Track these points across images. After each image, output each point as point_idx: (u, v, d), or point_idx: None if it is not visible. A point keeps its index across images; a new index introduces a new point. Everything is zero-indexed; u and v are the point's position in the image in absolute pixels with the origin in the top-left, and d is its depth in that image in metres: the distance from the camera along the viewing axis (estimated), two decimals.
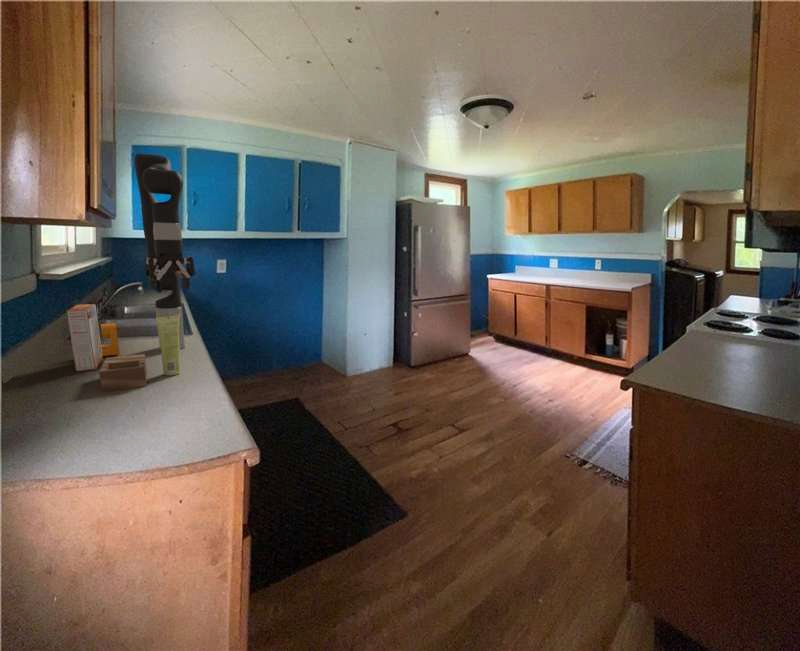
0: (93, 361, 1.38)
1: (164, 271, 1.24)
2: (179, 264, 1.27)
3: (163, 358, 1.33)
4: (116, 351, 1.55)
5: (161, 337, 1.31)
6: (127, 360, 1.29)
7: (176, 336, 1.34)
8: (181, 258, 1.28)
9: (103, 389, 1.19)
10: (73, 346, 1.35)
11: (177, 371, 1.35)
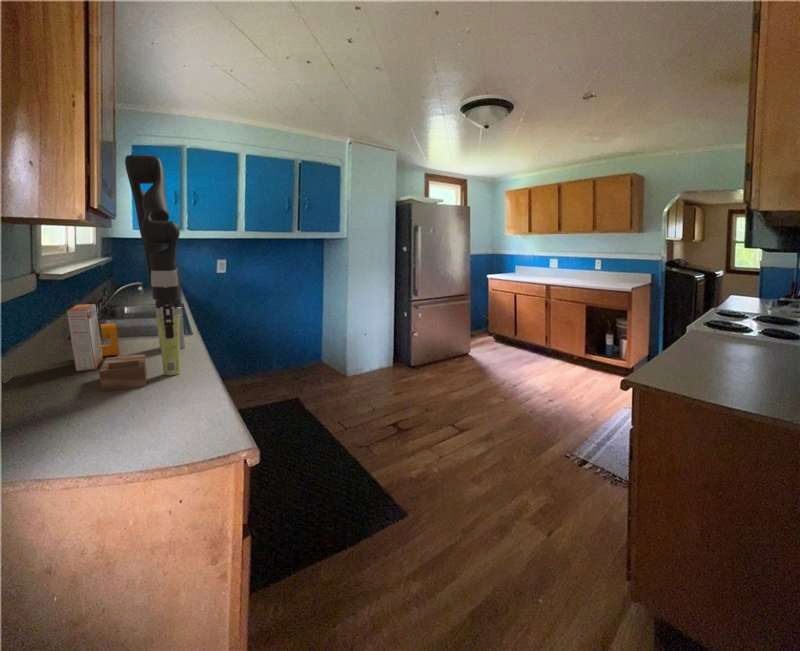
0: (93, 361, 1.38)
1: None
2: None
3: (163, 358, 1.33)
4: (116, 351, 1.55)
5: (161, 337, 1.31)
6: (127, 360, 1.29)
7: (176, 336, 1.34)
8: None
9: (103, 389, 1.19)
10: (73, 346, 1.35)
11: (177, 371, 1.35)
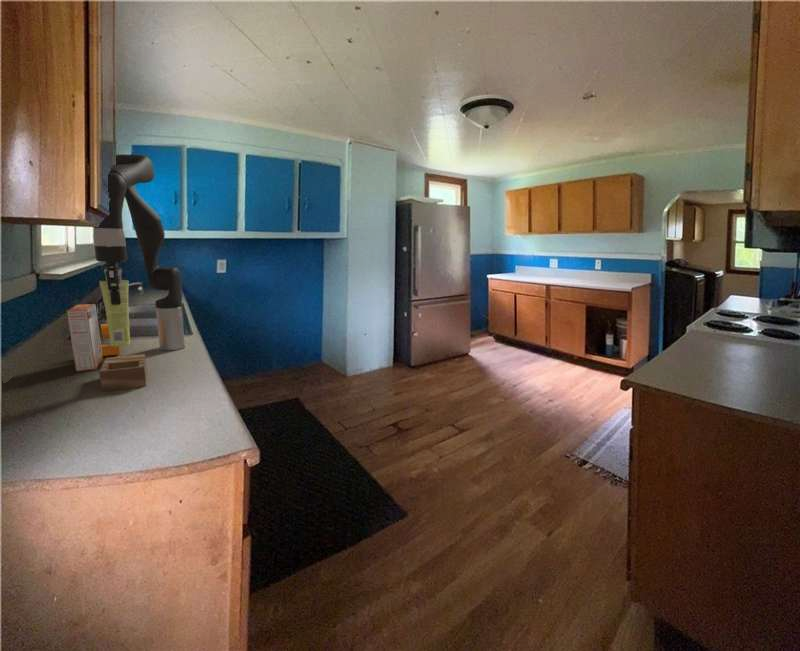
0: (93, 361, 1.38)
1: (120, 280, 1.19)
2: (121, 272, 1.22)
3: (109, 327, 1.20)
4: (116, 351, 1.55)
5: (106, 303, 1.18)
6: (127, 360, 1.29)
7: (124, 303, 1.21)
8: None
9: (103, 389, 1.19)
10: (73, 346, 1.35)
11: (126, 341, 1.22)
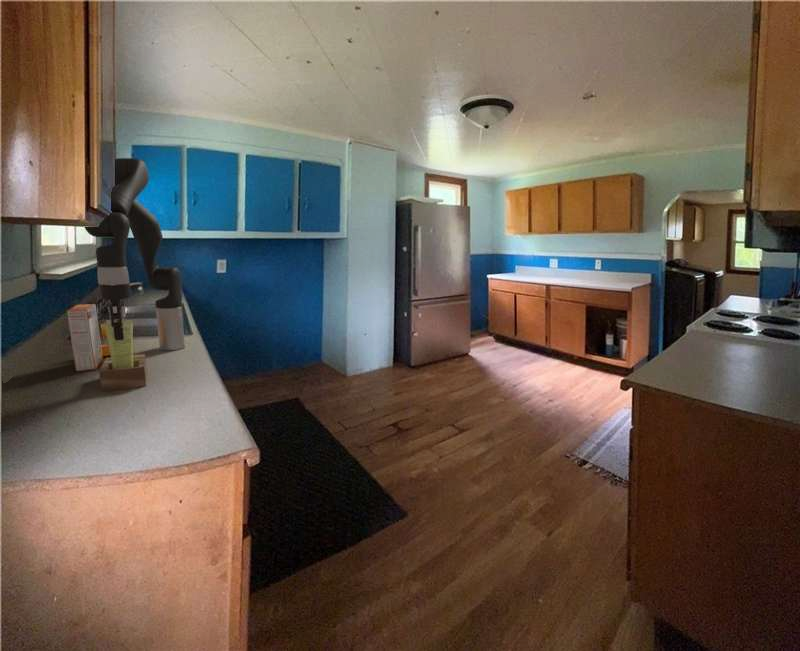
0: (93, 361, 1.38)
1: (124, 317, 1.20)
2: None
3: (113, 367, 1.22)
4: None
5: (110, 344, 1.21)
6: None
7: (128, 343, 1.24)
8: (121, 301, 1.24)
9: (103, 389, 1.19)
10: (73, 346, 1.35)
11: None
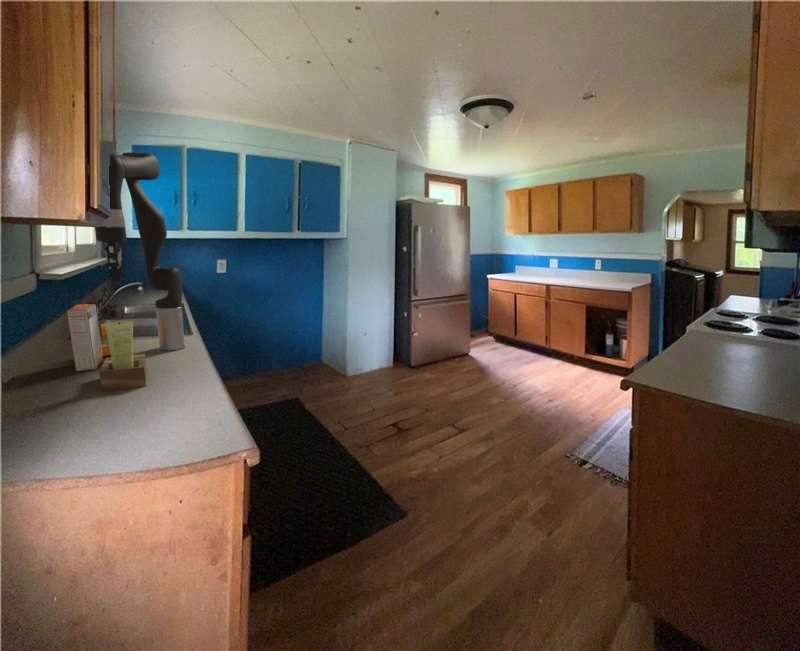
0: (93, 361, 1.38)
1: (120, 259, 1.22)
2: (121, 252, 1.25)
3: (113, 367, 1.22)
4: None
5: (110, 344, 1.21)
6: None
7: (128, 343, 1.24)
8: (117, 245, 1.26)
9: (103, 389, 1.19)
10: (73, 346, 1.35)
11: None
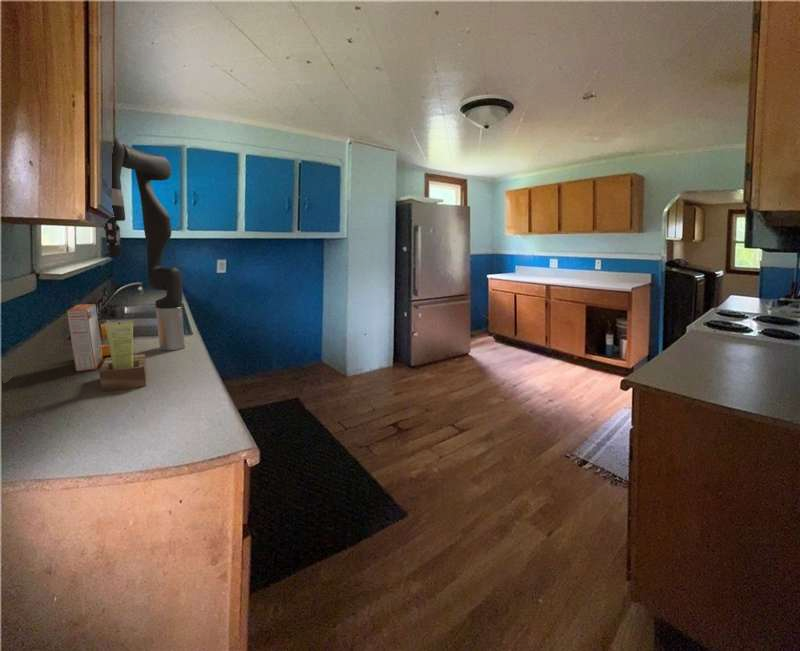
0: (93, 361, 1.38)
1: (118, 237, 1.27)
2: None
3: (113, 367, 1.22)
4: None
5: (110, 344, 1.21)
6: None
7: (128, 343, 1.24)
8: (116, 225, 1.31)
9: (103, 389, 1.19)
10: (73, 346, 1.35)
11: None
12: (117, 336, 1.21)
